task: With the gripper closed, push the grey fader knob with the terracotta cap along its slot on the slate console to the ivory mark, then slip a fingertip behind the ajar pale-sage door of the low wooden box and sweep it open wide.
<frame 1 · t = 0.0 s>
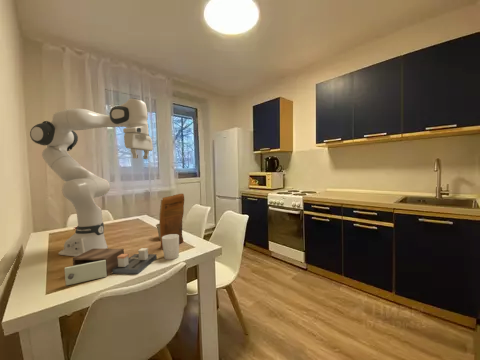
hand: (140, 158, 116), 48 cm above the table, fingers open, 8 cm apart
rack door: (86, 272, 86), point 4 cm above the table, hinge at 35.0°
white cup: (171, 257, 108), on the table
fader a: (123, 260, 95), point 4 cm above the table, slide at -5.0 cm
wooden box: (100, 269, 97), on the table
pancake mix bag: (173, 245, 126), on the table
console: (136, 265, 100), on the table
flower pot: (164, 238, 139), on the table
fader b: (143, 254, 101), point 4 cm above the table, slide at 2.0 cm
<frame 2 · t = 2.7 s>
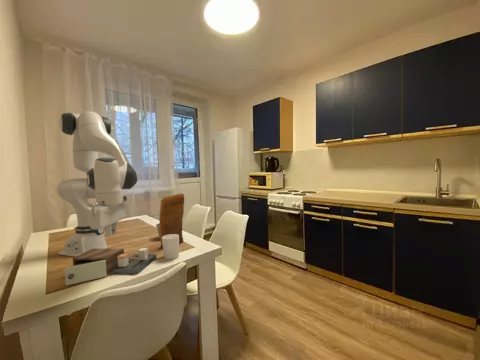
hand: (111, 234, 88), 17 cm above the table, fingers closed
nothing on the table moved.
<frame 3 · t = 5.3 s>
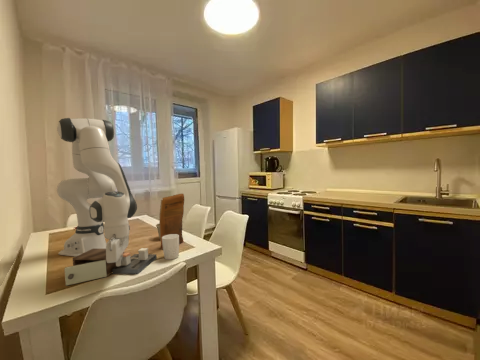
hand: (119, 264, 92), 4 cm above the table, fingers closed
fader a: (125, 258, 96), point 4 cm above the table, slide at -3.5 cm, touching gripper
everything else where it was.
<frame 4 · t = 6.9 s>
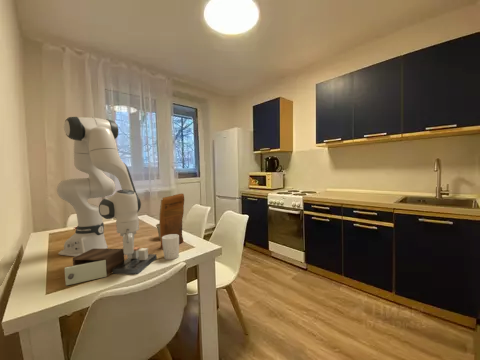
hand: (129, 257, 100), 4 cm above the table, fingers closed
fader a: (134, 252, 103), point 4 cm above the table, slide at 3.6 cm, touching gripper
everything else where it was.
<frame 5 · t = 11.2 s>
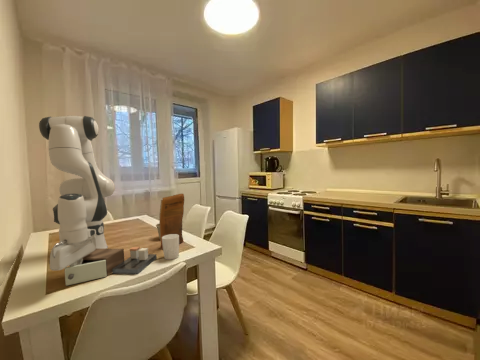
hand: (76, 271, 87), 4 cm above the table, fingers closed
rack door: (86, 272, 86), point 4 cm above the table, hinge at 35.4°, touching gripper
fader a: (135, 252, 103), point 4 cm above the table, slide at 3.6 cm
everything else where it was.
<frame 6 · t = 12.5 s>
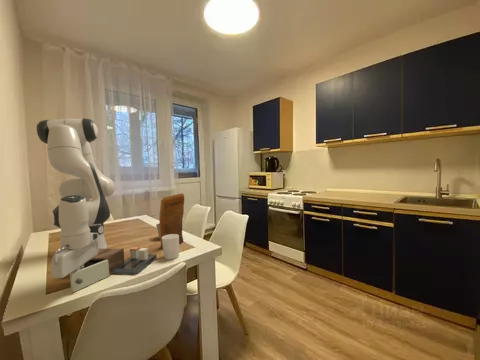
hand: (78, 277, 83), 3 cm above the table, fingers closed
rack door: (91, 275, 84), point 4 cm above the table, hinge at 69.9°, touching gripper
everything else where it was.
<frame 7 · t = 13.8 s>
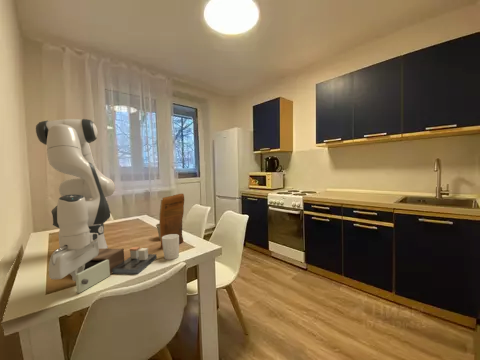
hand: (78, 279, 80), 4 cm above the table, fingers closed
rack door: (95, 275, 84), point 4 cm above the table, hinge at 81.6°
everything else where it was.
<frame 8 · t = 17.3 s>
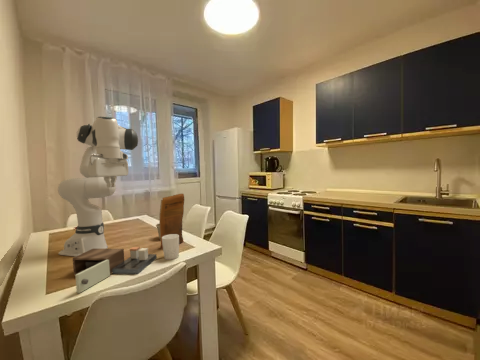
hand: (111, 187, 97), 35 cm above the table, fingers closed
nothing on the table moved.
at the end: rack door at +82° (first picture: +35°); fader a slide at 3.6 cm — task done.
